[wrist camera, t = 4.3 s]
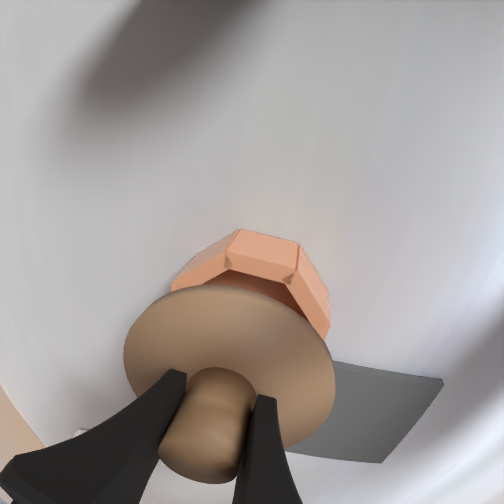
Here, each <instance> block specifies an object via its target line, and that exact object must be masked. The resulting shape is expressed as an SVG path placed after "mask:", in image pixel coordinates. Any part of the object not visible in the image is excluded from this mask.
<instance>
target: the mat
mask: <svg viewBox="0 0 504 504" xmlns="http://www.w3.org/2000/svg"><path fill="white" fill-rule="evenodd" d="M333 365H334V373H335V399H334V403H333V407H332V410H331V412H330V414H329V416H328V418H327V419H326V420H325V422H324V423H323V425H322V426H321V427H320V428H319V429H318V430H317V431H316V432H315V433H313V434H312V435H311V436H309V437H308V438H306V439H305V440H303V441H301V442H299V443H297V444H295V445H293V446H290V447H288V448H284V451H287V452H292V453H298V454H304V455H310V456H316V457H323V458H331V459H339V460H347V461H357V462H368V463H382V462H383V461H384V460H385V458H386V457H387V456H388V455H389V454H390V453H391V452H392V451H393V450H394V448H395V447H396V446H397V445H398V444H399V443H400V442H401V440H402V439H403V438H404V437H405V436H406V435H407V433H408V432H409V431H410V430H411V428H412V427H413V426H414V425H415V424H416V422H417V421H418V420H419V418H420V417H421V416H422V415H423V413H424V412H425V411H426V409H427V408H428V407H429V405H430V404H431V403H432V401H433V400H434V399H435V397H436V396H437V394H438V393H439V392H440V390H441V389H442V387H443V386H444V384H443V381H442V379H435V378H428V377H421V376H414V375H408V374H402V373H396V372H390V371H384V370H378V369H373V368H367V367H362V366H357V365H352V364H347V363H342V362H337V361H333Z"/></svg>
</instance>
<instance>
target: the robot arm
mask: <svg viewBox="0 0 504 504" xmlns="http://www.w3.org/2000/svg"><path fill="white" fill-rule="evenodd" d="M186 381H187V373H184V372H181V371H178V370H175V369H169V370H168V371H167V372H166V373H165V374H164V375H163V376H162V377H161V378H160V379H159V380H158V381H157V382H156V383H155V384H154V385H152V386H151V387H150V388H149V389H148V390H147V391H146V392H144V393H143V394H142V395H141V396H139V397H138V398H137V399H136V400H135V401H133V402H132V403H131V404H129V405H128V406H127V407H125V408H124V409H122V410H121V411H120V412H118V413H117V414H115V415H114V416H112V417H111V418H109V419H108V420H106V421H104V422H103V423H101V424H99V425H98V426H96V427H94V428H92V429H90V430H88V431H86V432H84V433H82V434H80V435H78V436H76V437H74V438H71V439H69V440H67V441H64V442H61V443H58V444H56V445H53V446H50V447H47V448H44V449H41V450H36V451H32V452H28V453H24V454H19V455H15V456H14V458H13V459H12V460H10V462H9V463H8V464H7V465H6V466H5V467H4V469H3V470H2V472H1V473H0V487H2V489H3V490H4V491H5V492H6V493H7V494H8V495H9V496H10V497H11V498H12V499H13V501H12V503H11V504H139V502H140V500H141V497H142V495H143V492H144V490H145V487H146V485H147V482H148V480H149V478H150V476H151V474H152V472H153V470H154V468H155V466H156V464H157V463H158V461H159V459H160V457H159V455H158V448H159V446H160V444H161V442H162V440H163V438H164V435H165V433H166V431H167V429H168V427H169V425H170V423H171V421H172V419H173V417H174V415H175V413H176V411H177V409H178V407H179V405H180V402H181V400H182V398H183V396H184V394H185V390H186ZM0 504H7V503H6V502H4V501H3V500H2V499H0ZM232 504H303V503H302V501H301V499H300V496H299V494H298V492H297V489H296V486H295V484H294V481H293V478H292V475H291V472H290V469H289V466H288V463H287V459H286V455H285V452H284V447H283V443H282V438H281V433H280V427H279V420H278V411H277V400H276V398H273V397H269V396H265V395H261V394H258V396H257V399H256V402H255V405H254V408H253V411H252V415H251V419H250V423H249V427H248V432H247V436H246V441H245V445H244V449H243V453H242V457H241V460H240V464H239V468H238V472H237V479H236V485H235V491H234V497H233V502H232Z"/></svg>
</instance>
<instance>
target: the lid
mask: <svg viewBox="0 0 504 504" xmlns="http://www.w3.org/2000/svg"><path fill="white" fill-rule="evenodd" d="M123 358H124V367H125V371H126V375H127V378H128V380H129V383H130V385H131V387H132V389H133V391H134V392H135V394H136V396H137V397H139V396H141V395H142V394H143V393H144V392H146V391H147V390H148V389H149V388H150V387H151V386H152V385H154V384H155V383H156V382H157V381H158V380H159V379H160V378H161V377H162V376H163V375H164V374H165V373H166V372H167V371H168V370H169V369H175V370H178V371H181V372H184V373H187V381H186V390H185V394H184V396H183V398H182V400H181V402H180V405H179V407H178V409H177V411H176V413H175V415H174V417H173V419H172V421H171V423H170V425H169V427H168V429H167V431H166V433H165V435H164V438H163V440H162V442H161V444H160V446H159V448H158V455H159V457H160V459H161V460H162V462H163V463H164V464H165V465H166V466H167V467H169V468H170V469H171V470H173V471H174V472H176V473H177V474H179V475H181V476H183V477H186V478H188V479H191V480H194V481H197V482H202V483H208V484H222V483H227V482H230V481H232V480H233V479H234V478H235V477H236V476H237V472H238V468H239V464H240V460H241V457H242V453H243V449H244V445H245V441H246V436H247V432H248V427H249V423H250V419H251V415H252V411H253V408H254V405H255V402H256V399H257V396H258V394H261V395H265V396H269V397H273V398H276V400H277V411H278V420H279V427H280V433H281V438H282V443H283V447H284V448H288V447H290V446H293V445H295V444H297V443H299V442H301V441H303V440H305V439H306V438H308V437H309V436H311V435H312V434H313V433H315V432H316V431H317V430H318V429H319V428H320V427H321V426H322V425H323V423H324V422H325V420H326V419H327V418H328V416H329V414H330V412H331V410H332V407H333V403H334V399H335V373H334V365H333V361H332V358H331V355H330V352H329V350H328V348H327V346H326V344H325V342H324V341H323V339H322V338H321V336H320V335H319V334H318V332H317V331H316V330H315V329H314V328H313V327H312V326H311V325H310V324H309V323H308V322H307V321H306V320H305V319H304V318H303V317H302V316H300V315H299V314H298V313H297V312H295V311H294V310H292V309H291V308H289V307H287V306H286V305H284V304H283V303H281V302H279V301H277V300H275V299H273V298H270V297H268V296H266V295H264V294H261V293H258V292H255V291H252V290H248V289H244V288H239V287H234V286H226V285H197V286H191V287H185V288H182V289H179V290H175V291H173V292H170V293H168V294H166V295H164V296H162V297H161V298H159V299H158V300H156V301H155V302H153V303H152V304H151V305H150V306H149V307H148V308H147V309H146V310H145V311H144V312H143V313H142V314H141V315H140V317H139V318H138V319H137V320H136V321H135V323H134V324H133V326H132V327H131V328H130V330H129V333H128V335H127V337H126V341H125V345H124V355H123Z"/></svg>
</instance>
